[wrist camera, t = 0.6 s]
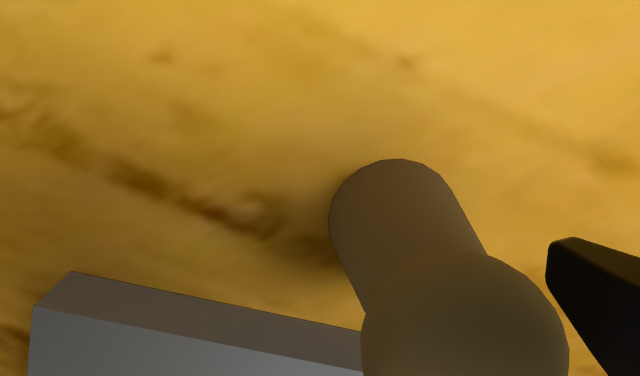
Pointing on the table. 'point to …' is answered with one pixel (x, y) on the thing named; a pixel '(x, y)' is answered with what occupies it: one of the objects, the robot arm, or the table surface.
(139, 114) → the table surface
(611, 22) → the table surface
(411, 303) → the brown pawn
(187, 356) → the socket plate
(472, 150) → the table surface
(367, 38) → the table surface
